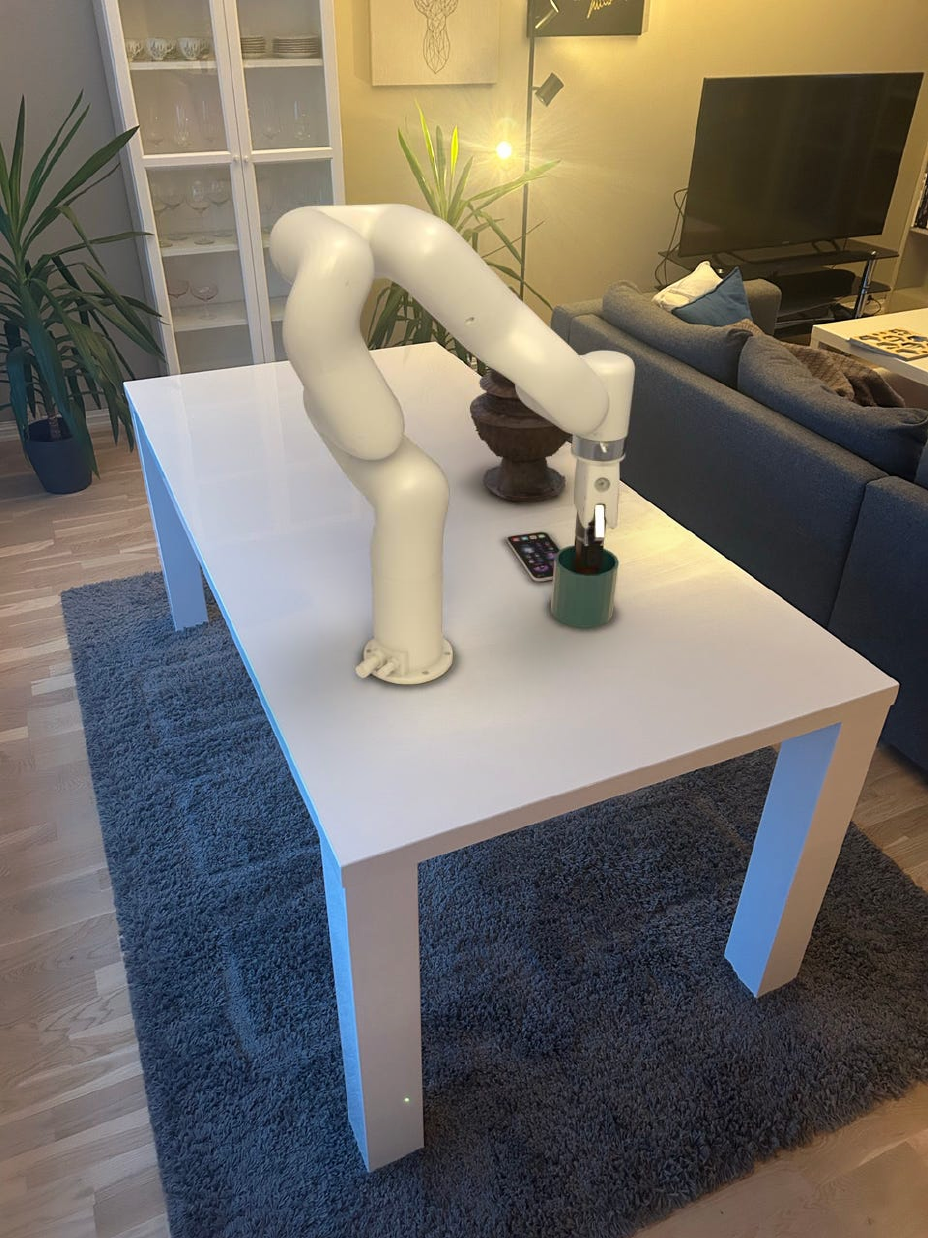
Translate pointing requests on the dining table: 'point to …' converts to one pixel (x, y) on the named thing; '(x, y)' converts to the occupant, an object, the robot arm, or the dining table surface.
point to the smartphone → (535, 553)
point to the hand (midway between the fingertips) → (587, 557)
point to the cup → (583, 590)
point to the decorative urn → (516, 442)
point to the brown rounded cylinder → (580, 539)
